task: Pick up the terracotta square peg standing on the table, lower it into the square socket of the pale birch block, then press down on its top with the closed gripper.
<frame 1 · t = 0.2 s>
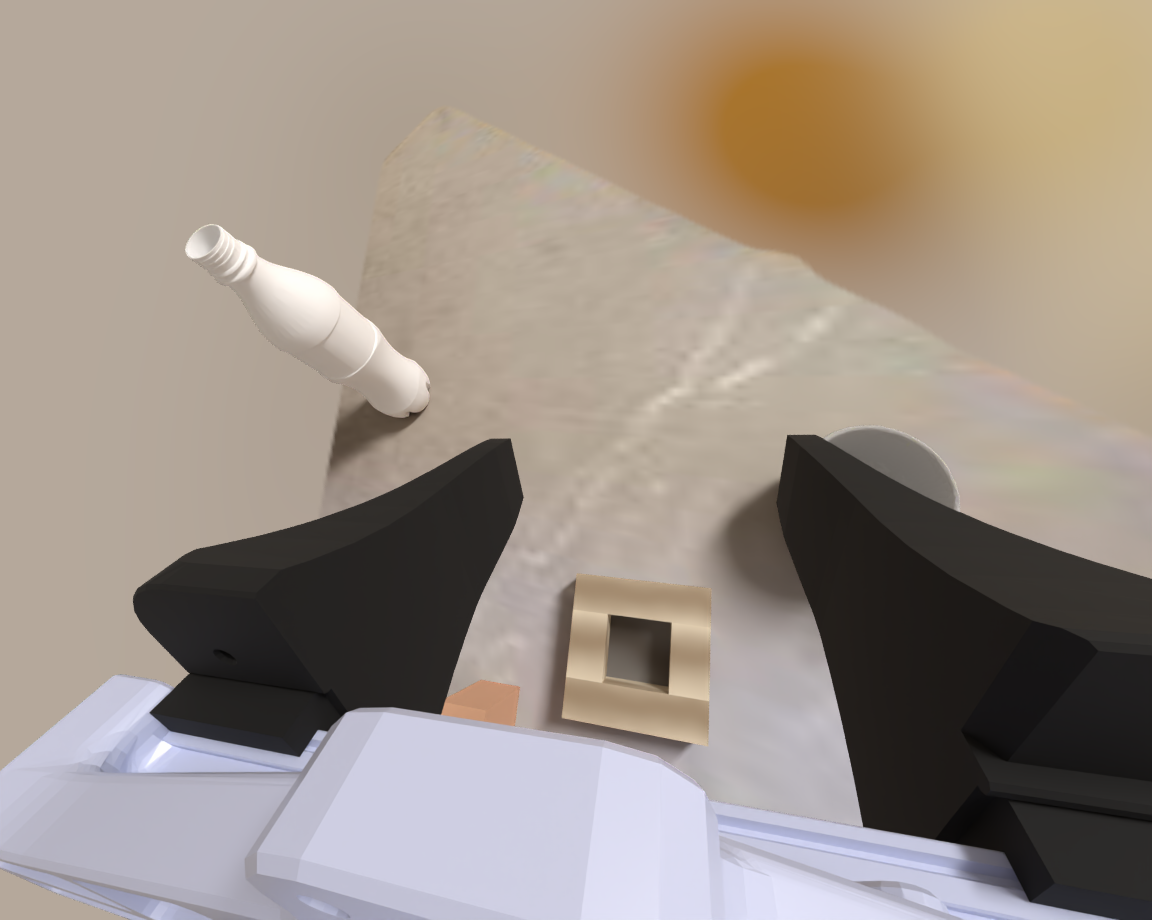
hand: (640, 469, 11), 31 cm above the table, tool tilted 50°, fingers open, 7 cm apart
teacup: (845, 524, 38), on the table
birch socket block: (639, 647, 38), on the table
water bottle: (412, 397, 52), on the table
terracotta peg: (497, 706, 39), on the table
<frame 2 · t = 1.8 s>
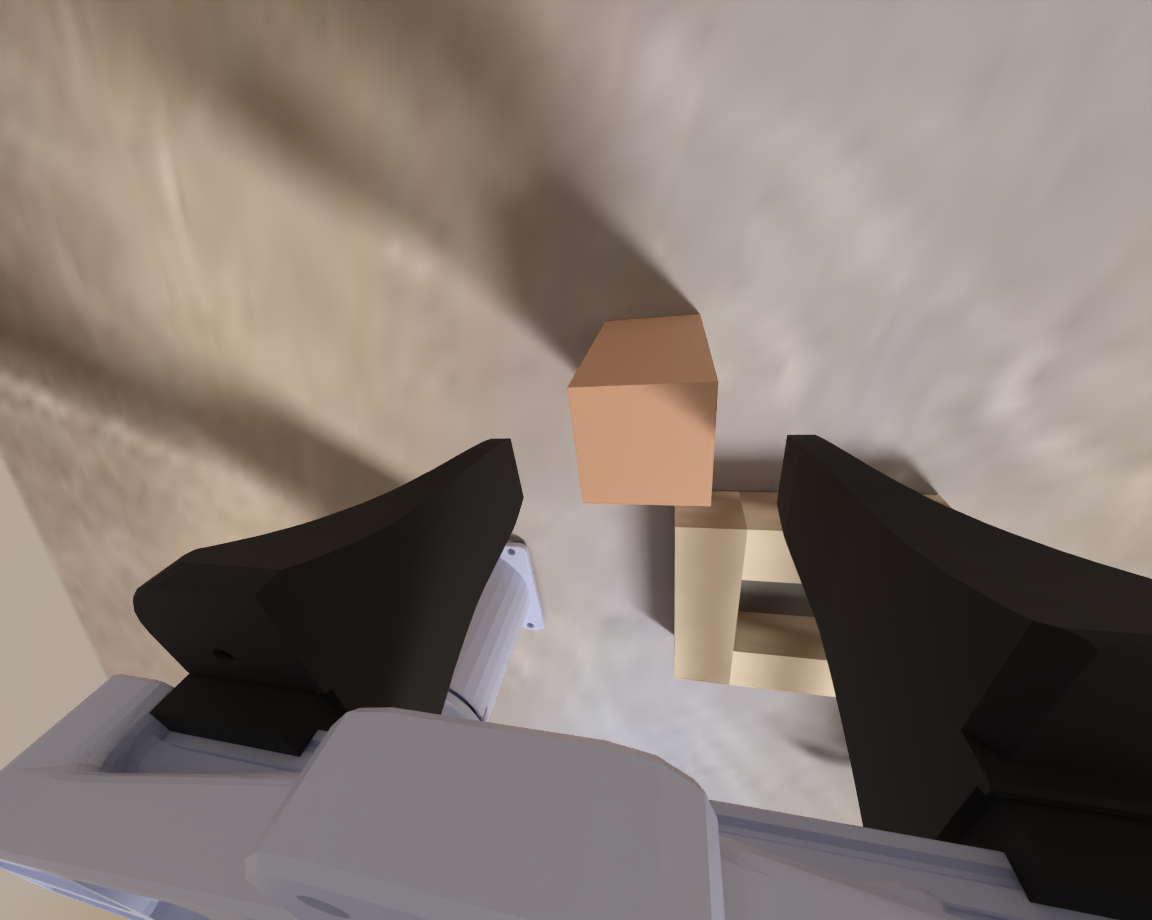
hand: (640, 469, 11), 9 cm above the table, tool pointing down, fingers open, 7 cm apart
birch socket block: (782, 578, 24), on the table
terracotta peg: (652, 362, 19), on the table
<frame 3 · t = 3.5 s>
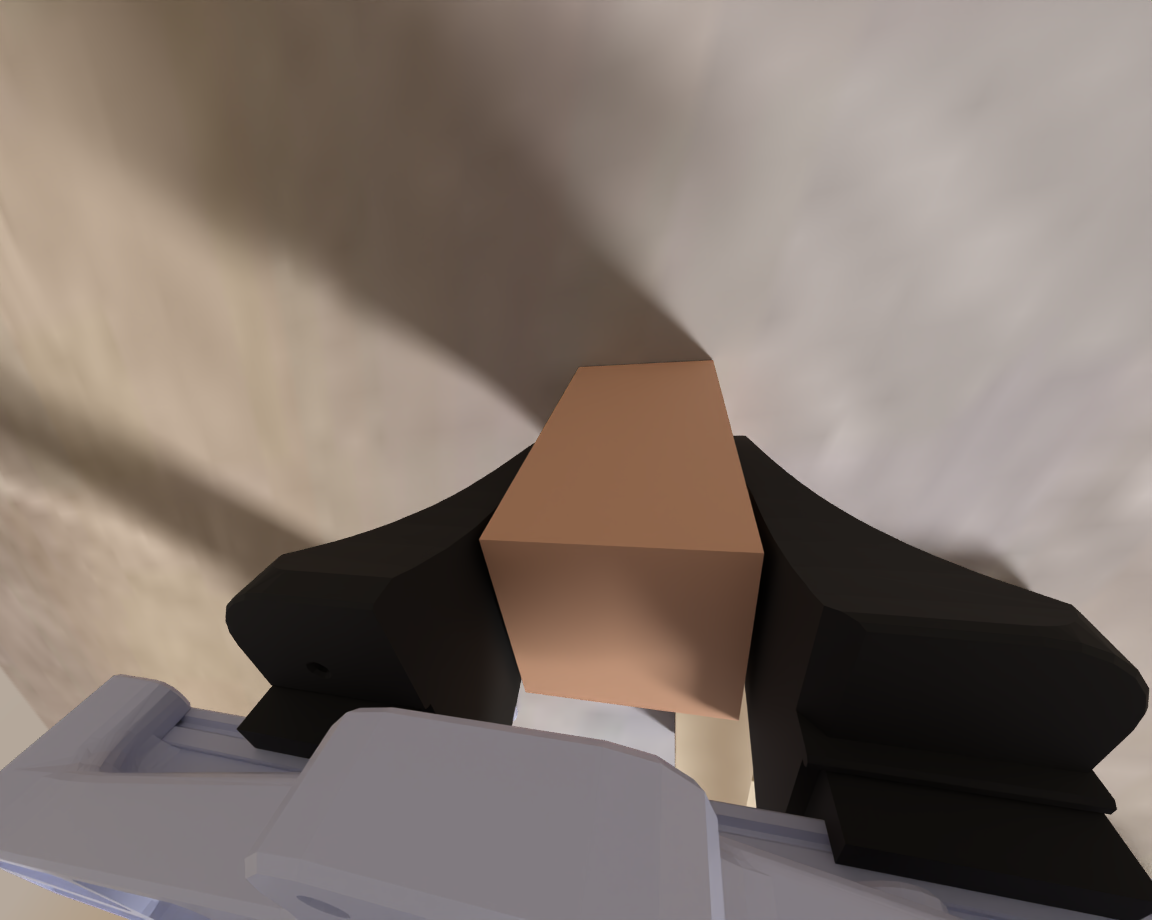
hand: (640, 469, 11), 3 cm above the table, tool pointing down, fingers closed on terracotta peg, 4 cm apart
birch socket block: (814, 684, 18), on the table
terracotta peg: (645, 423, 13), on the table, touching gripper
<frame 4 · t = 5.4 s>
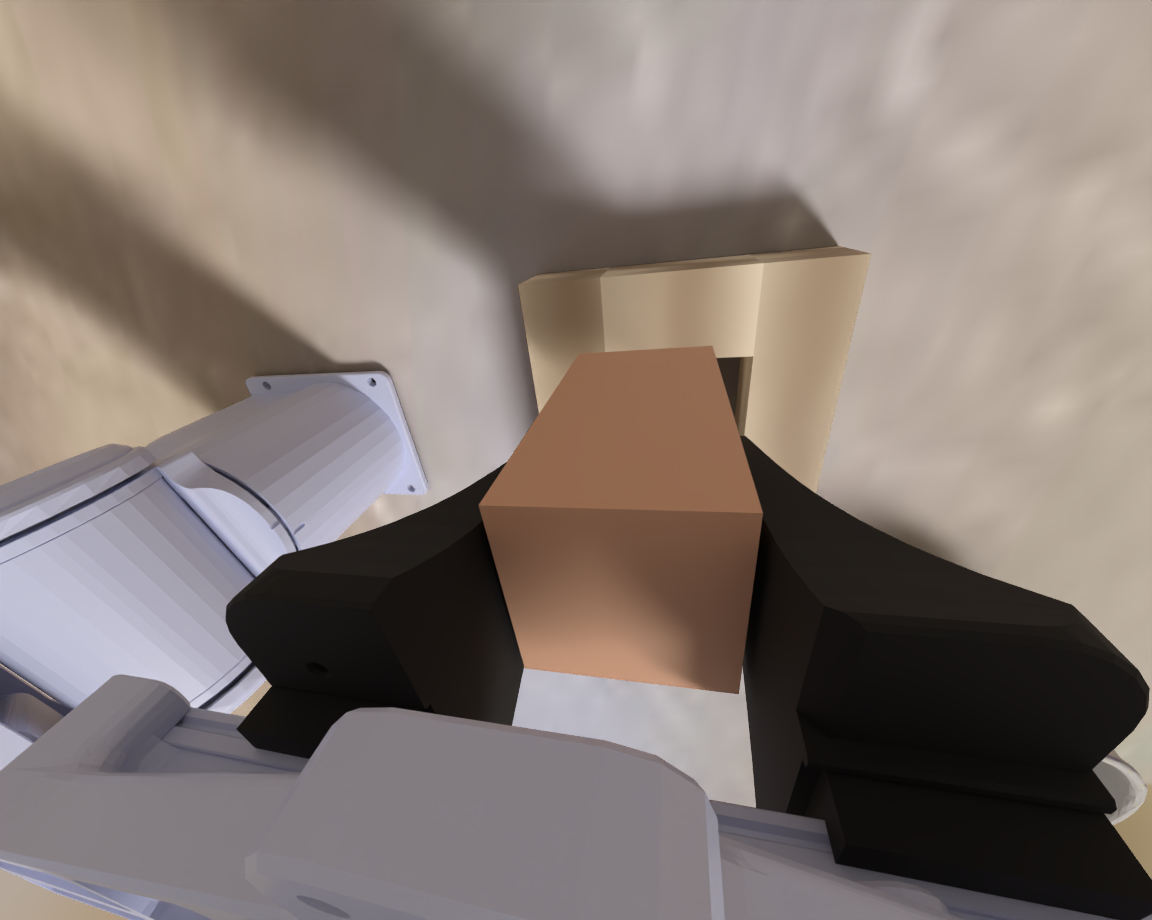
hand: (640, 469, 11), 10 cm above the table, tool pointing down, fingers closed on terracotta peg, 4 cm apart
teacup: (878, 652, 27), on the table
birch socket block: (675, 396, 20), on the table
terracotta peg: (645, 410, 14), point 7 cm above the table, touching gripper
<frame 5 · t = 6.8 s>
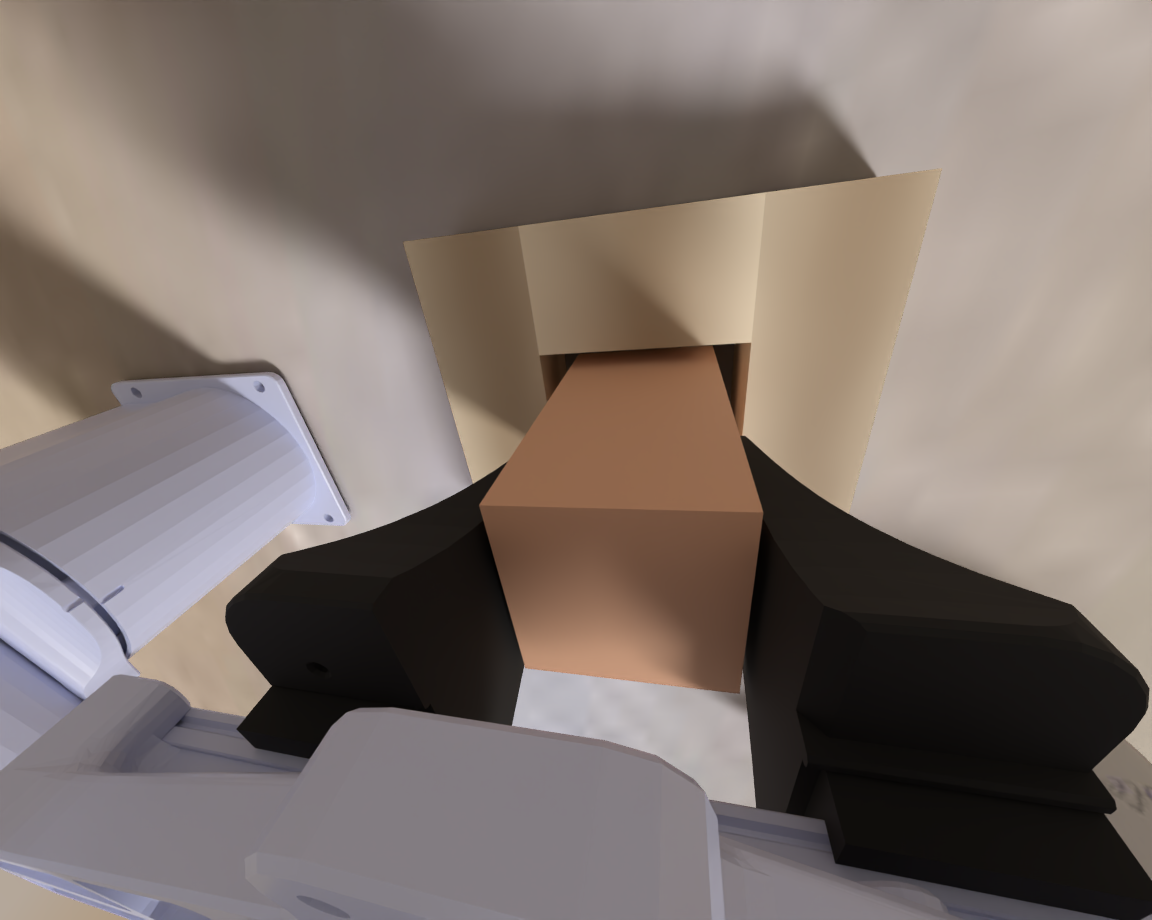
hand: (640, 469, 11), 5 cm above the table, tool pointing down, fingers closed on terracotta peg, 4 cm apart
teacup: (914, 716, 21), on the table
birch socket block: (647, 402, 15), on the table
terracotta peg: (645, 410, 14), point 2 cm above the table, touching gripper
when the fingers open (4 cm above the table, at t = 7.8 s): terracotta peg stays where it is, resting on birch socket block.
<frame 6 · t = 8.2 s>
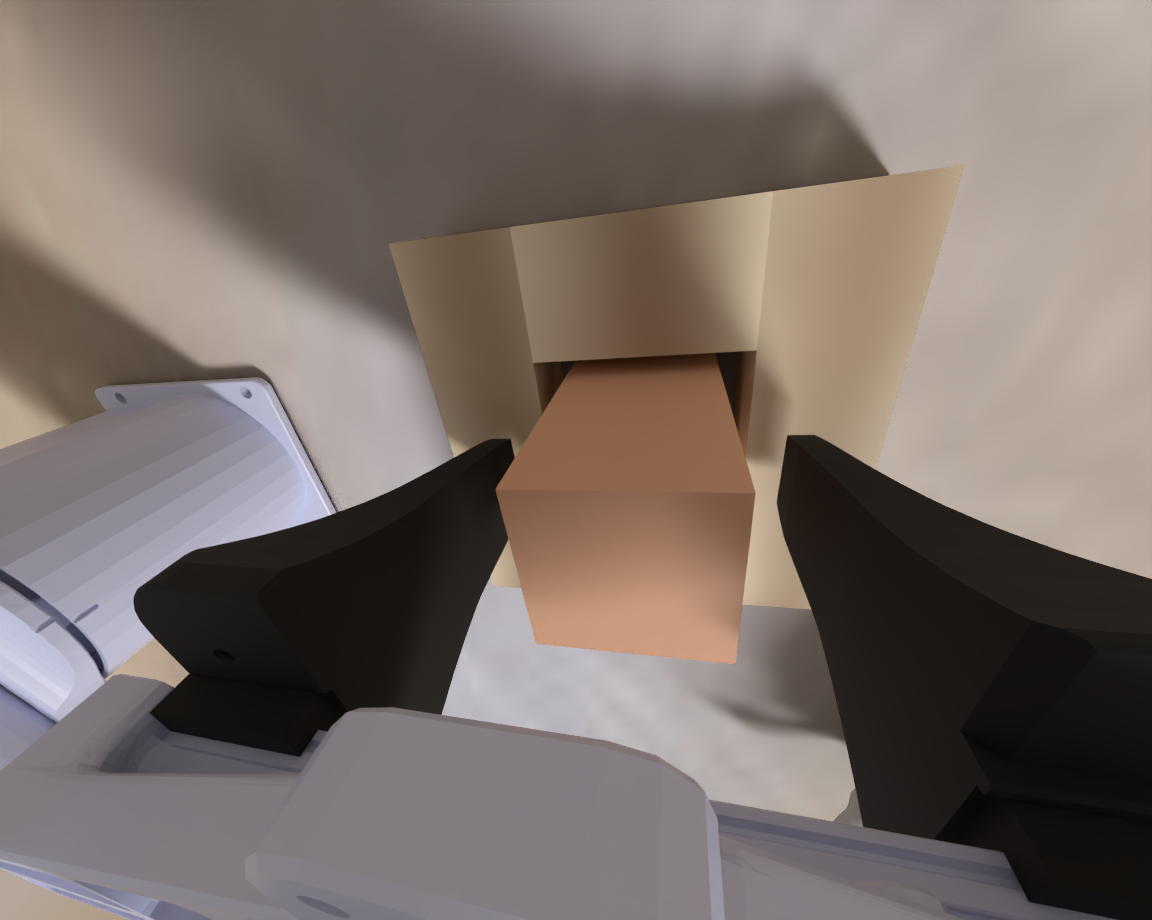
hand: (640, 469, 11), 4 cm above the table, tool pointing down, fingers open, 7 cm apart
teacup: (921, 731, 21), on the table
birch socket block: (647, 409, 14), on the table
terracotta peg: (647, 403, 14), resting on birch socket block
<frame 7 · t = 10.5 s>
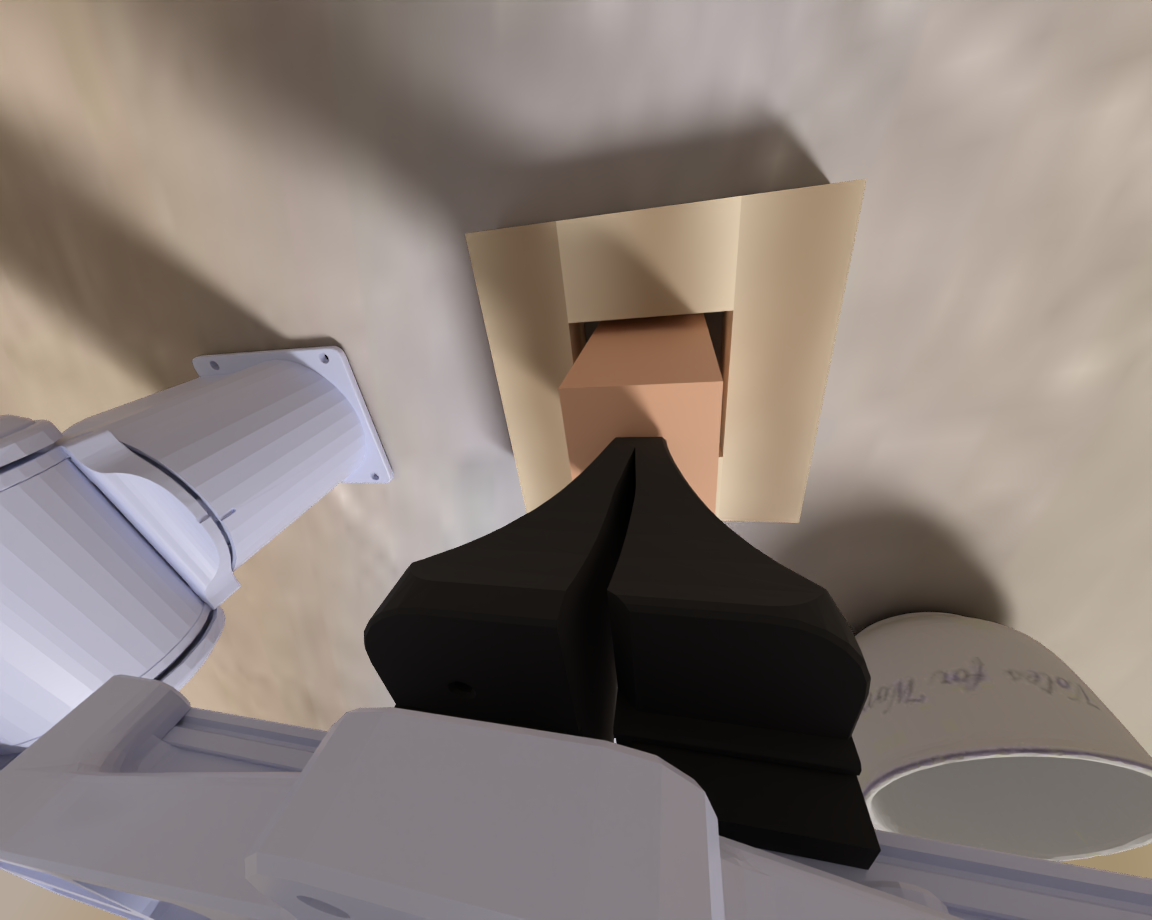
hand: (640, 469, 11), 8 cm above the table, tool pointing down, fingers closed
teacup: (883, 650, 24), on the table
birch socket block: (652, 367, 18), on the table
terracotta peg: (652, 361, 18), resting on birch socket block
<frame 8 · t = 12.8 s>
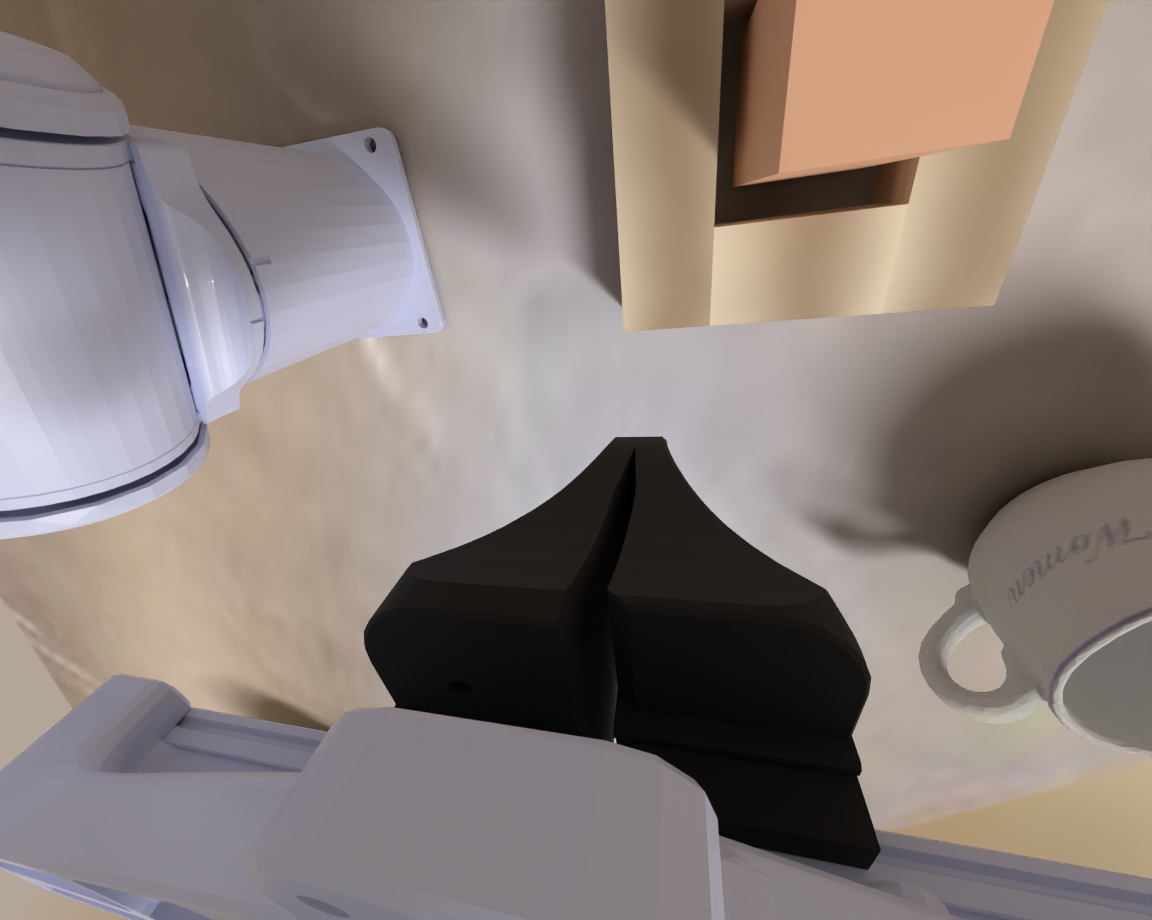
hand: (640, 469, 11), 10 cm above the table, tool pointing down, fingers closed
teacup: (1026, 532, 21), on the table
birch socket block: (796, 120, 14), on the table
terracotta peg: (799, 107, 14), resting on birch socket block
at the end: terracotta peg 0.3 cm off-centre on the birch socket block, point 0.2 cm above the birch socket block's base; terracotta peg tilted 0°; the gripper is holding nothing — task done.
